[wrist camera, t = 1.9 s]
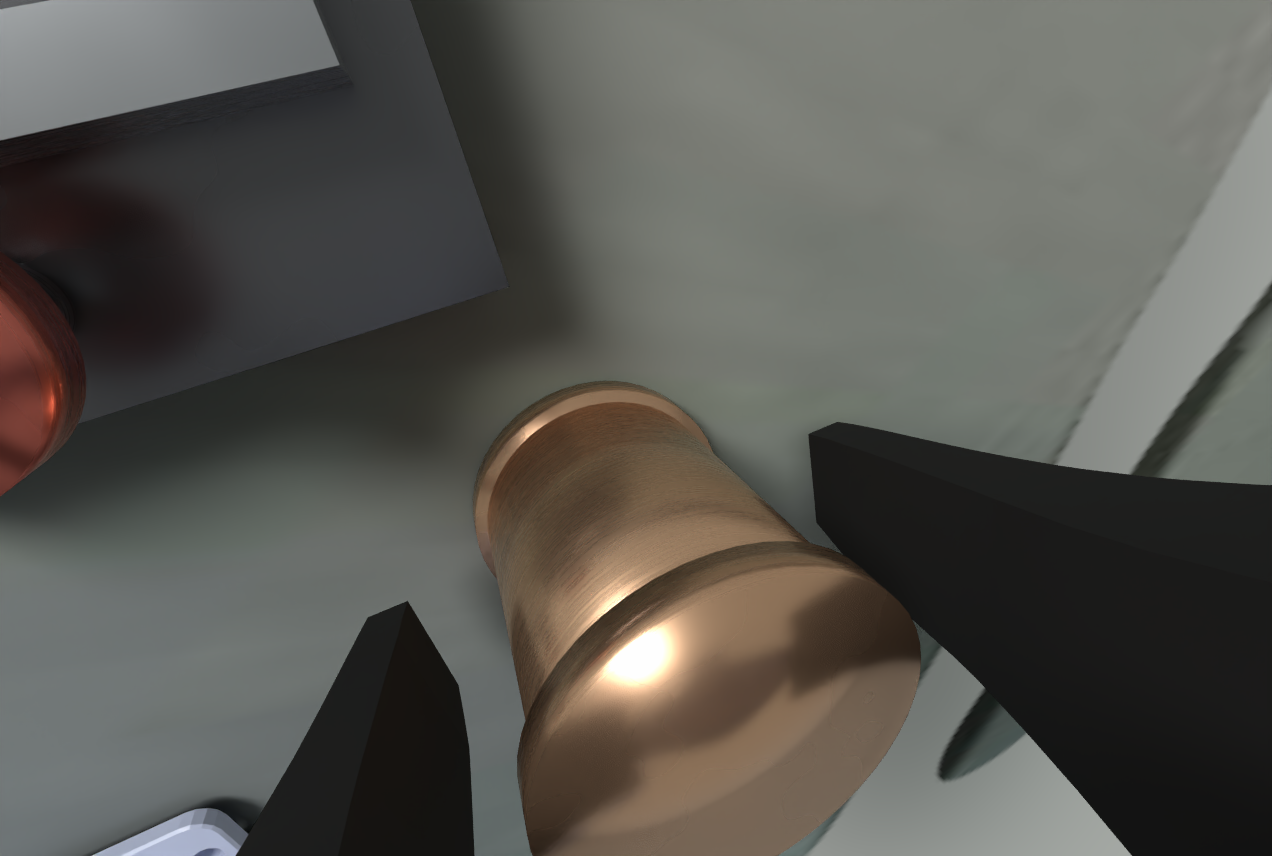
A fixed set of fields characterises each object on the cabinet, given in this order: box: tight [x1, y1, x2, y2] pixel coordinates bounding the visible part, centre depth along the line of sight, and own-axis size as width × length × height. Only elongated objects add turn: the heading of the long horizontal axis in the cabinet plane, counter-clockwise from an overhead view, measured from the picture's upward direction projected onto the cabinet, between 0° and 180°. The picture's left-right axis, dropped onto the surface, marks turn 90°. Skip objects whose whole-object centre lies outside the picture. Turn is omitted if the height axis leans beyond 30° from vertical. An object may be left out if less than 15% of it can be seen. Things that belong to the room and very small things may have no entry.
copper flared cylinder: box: [473, 381, 921, 856], centre depth 9 cm, size 5×5×6 cm
